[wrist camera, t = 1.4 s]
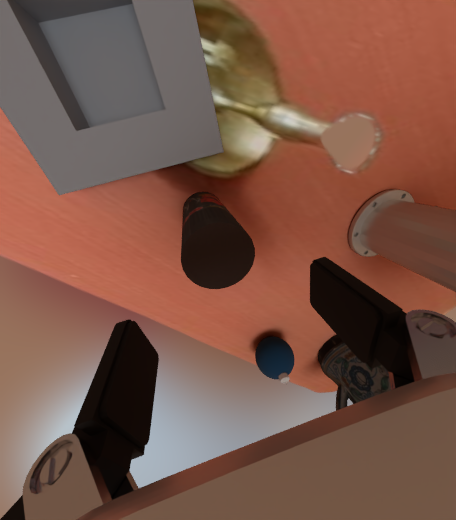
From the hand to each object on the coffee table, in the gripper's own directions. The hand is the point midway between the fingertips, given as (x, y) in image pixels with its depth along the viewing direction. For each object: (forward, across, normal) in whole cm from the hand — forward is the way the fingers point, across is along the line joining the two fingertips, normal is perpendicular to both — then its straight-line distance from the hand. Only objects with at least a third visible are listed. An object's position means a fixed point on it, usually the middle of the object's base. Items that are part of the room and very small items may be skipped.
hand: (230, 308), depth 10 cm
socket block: (+21, +4, -16) cm, 27 cm away
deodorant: (+21, 0, 0) cm, 21 cm away
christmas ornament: (+21, -6, +34) cm, 41 cm away
